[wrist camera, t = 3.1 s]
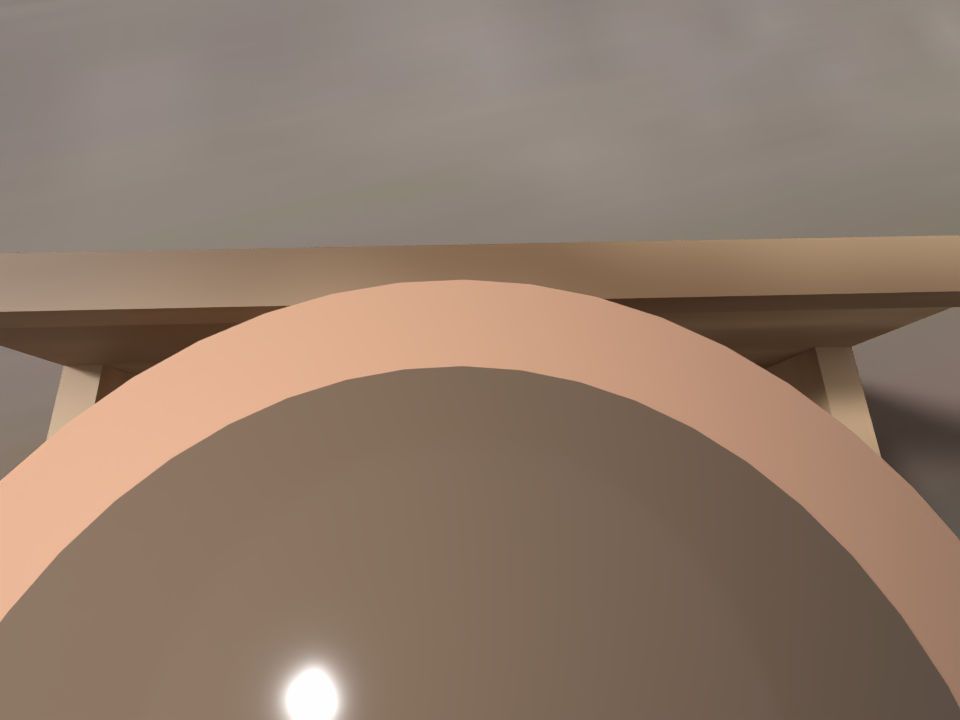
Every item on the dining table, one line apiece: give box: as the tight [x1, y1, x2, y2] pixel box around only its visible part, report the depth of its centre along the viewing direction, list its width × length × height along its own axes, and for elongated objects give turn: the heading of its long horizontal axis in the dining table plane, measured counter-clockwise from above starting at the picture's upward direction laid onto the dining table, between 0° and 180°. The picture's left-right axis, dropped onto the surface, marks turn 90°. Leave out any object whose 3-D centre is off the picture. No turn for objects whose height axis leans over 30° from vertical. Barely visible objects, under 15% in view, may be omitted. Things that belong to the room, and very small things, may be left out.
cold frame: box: [0, 235, 960, 457], centre depth 11 cm, size 12×21×8 cm, turn 92°
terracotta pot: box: [0, 280, 960, 720], centre depth 8 cm, size 7×7×13 cm
